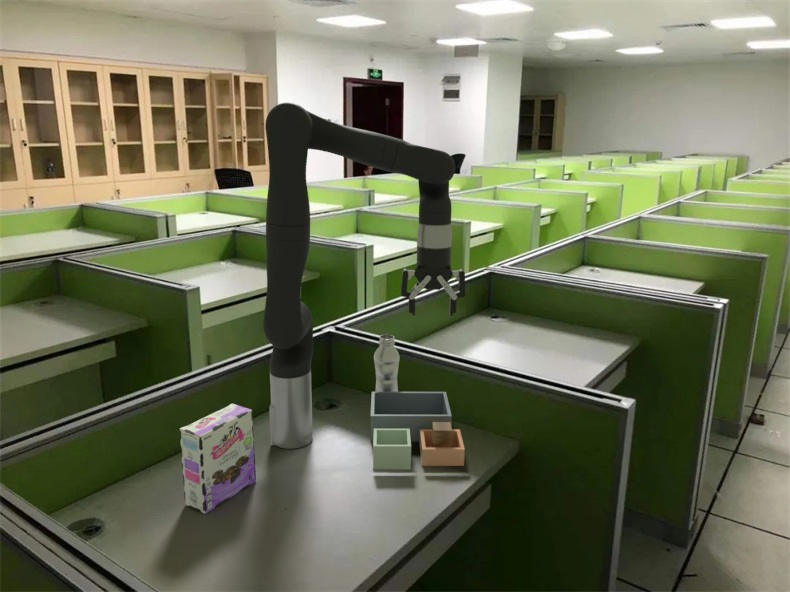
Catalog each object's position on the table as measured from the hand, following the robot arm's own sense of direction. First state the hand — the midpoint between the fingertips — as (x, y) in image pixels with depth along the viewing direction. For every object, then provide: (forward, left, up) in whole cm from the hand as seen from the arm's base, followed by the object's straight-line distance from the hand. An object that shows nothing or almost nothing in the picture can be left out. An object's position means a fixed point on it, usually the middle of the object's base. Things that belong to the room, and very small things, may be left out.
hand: (432, 314), depth 141 cm
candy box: (-43, -24, -30) cm, 58 cm away
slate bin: (-4, +3, -30) cm, 31 cm away
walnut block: (+2, -10, -30) cm, 31 cm away
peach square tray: (+2, -10, -30) cm, 32 cm away
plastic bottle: (-10, +14, -30) cm, 35 cm away
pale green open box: (-9, -12, -30) cm, 34 cm away
